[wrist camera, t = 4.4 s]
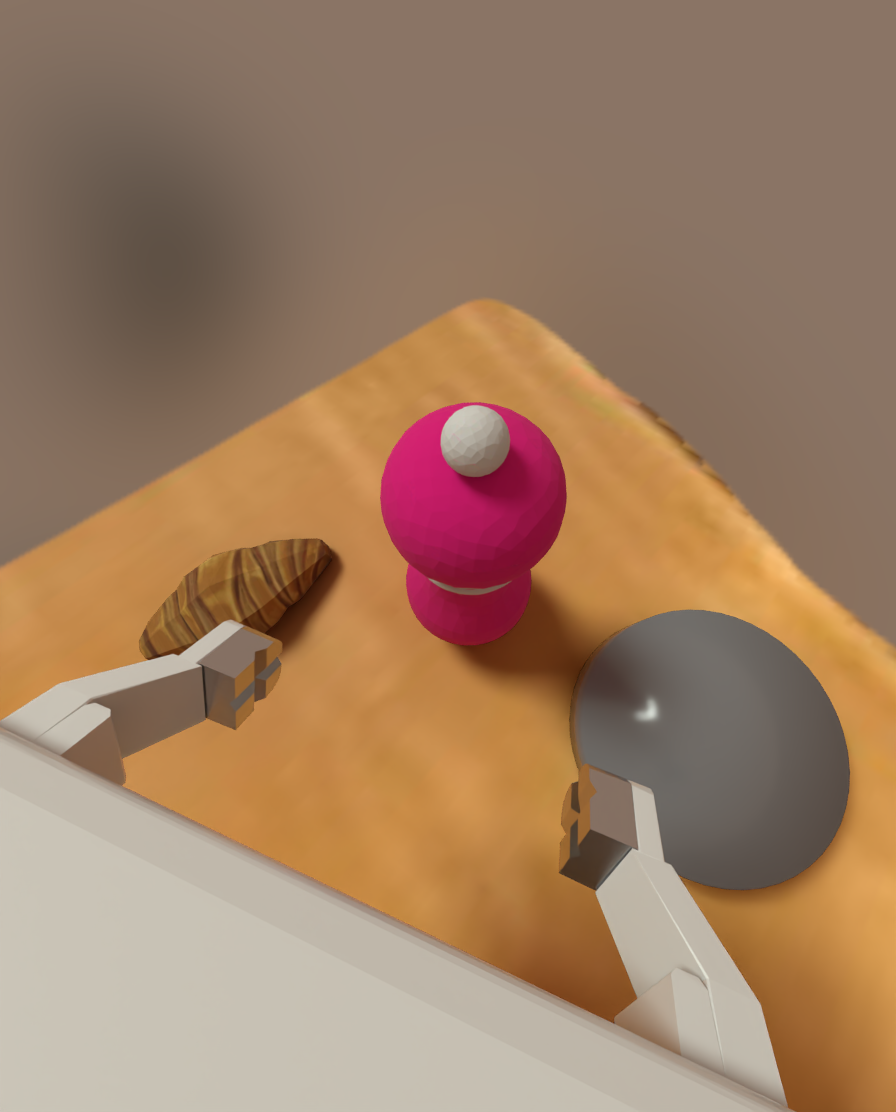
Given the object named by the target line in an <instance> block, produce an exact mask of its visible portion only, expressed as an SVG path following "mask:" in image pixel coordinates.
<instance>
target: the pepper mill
mask: <svg viewBox="0 0 896 1112" xmlns="http://www.w3.org/2000/svg"><path fill="white" fill-rule="evenodd" d="M566 497H567V494H566V480H565V473H564V470H563V467H562V463H561V460H560V457H559V455H558V454H557V452H556V450H555V448H554V447H553V445H552V443H551V441H550V440H549V438H548V437H547V436H546V435H545V434H544V433H543V432H542V431H541V430H540V428H538V427H537V426H536V425H535V424H533V423H532V422H531V421H529V420H528V419H527V418H525V417H523V416H522V415H520V414H518V413H516V412H514V411H512V410H511V409H507V408H504V407H501V406H498V405H494V404H487V403H480V402H479V403H460V404H456V405H452V406H447V407H444V408H441V409H439V410H436V411H434V412H432V413H429V414H428V415H426V416H425V417H423V418H422V419H420V420H418V421H417V422H416V423H415V424H413V425H412V426H411V427H410V428H409V429H408V430H407V431H406V432H405V433H404V434H403V436H402V437H401V438H400V440H399V441H398V443H397V444H396V445H395V447H394V448H393V450H392V452H391V454H390V456H389V458H388V460H387V463H386V466H385V470H384V473H383V477H382V481H381V495H380V499H381V510H382V515H383V519H384V523H385V526H386V528H387V530H388V533H389V535H390V538H391V540H392V542H393V544H394V545H395V547H396V548H397V549H398V551H399V552H400V554H401V555H402V556H403V557H404V559H405V560H406V561H407V562H408V563H409V565H408V570H407V575H406V587H407V593H408V598H409V602H410V605H411V608H412V610H413V612H414V614H415V615H416V617H417V619H418V620H419V621H420V622H421V624H422V625H423V626H424V627H425V628H426V629H427V630H428V631H430V632H431V633H432V634H433V635H435V636H437V637H438V638H440V639H442V640H445V641H447V642H450V643H454V644H459V645H480V644H484V643H488V642H491V641H493V640H496V639H498V638H499V637H501V636H503V635H504V634H506V633H507V632H508V631H509V630H511V629H512V628H513V627H514V626H515V624H516V623H517V622H518V621H519V619H520V618H521V616H522V615H523V613H524V611H525V609H526V606H527V603H528V600H529V596H530V591H531V571H530V569H531V568H532V567H534V566H535V565H536V564H537V563H538V562H539V561H540V560H541V559H542V558H543V557H544V556H545V554H546V553H547V552H548V550H549V549H550V548H551V546H552V545H553V543H554V541H555V540H556V538H557V536H558V533H559V530H560V527H561V524H562V520H563V517H564V513H565V507H566Z"/></svg>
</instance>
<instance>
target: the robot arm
mask: <svg viewBox="0 0 896 1112" xmlns="http://www.w3.org/2000/svg"><path fill="white" fill-rule="evenodd" d="M281 652H282V642H281V641H279V640H278V639H275V638H273V637H271V636H268V635H266V634H264V633H261V632H259V631H257V630H255V629H252V628H250V627H248V626H245V625H242V624H240V623H238V622H235V621H233V620H227V621H224V622H223V623H221V624H220V625H219V626H217V627H216V628H215V629H213V630H212V631H211V632H209V633H208V634H207V635H205V636H204V637H203V638H201V639H200V640H199V641H197V642H196V643H195V644H193V645H192V646H191V647H190V648H188V649H187V650H186V651H184V652H183V653H182V654H180V655H179V656H178V655H175V654H171V655H167V656H163V657H160V658H156V659H152V660H148V661H144V662H140V663H136V664H133V665H129V666H125V667H121V668H117V669H113V670H110V671H106V672H102V673H98V674H94V675H90V676H86V677H83V678H79V679H75V680H71V681H67V682H63V683H60V684H57V685H56V686H54V687H53V688H51V689H50V690H48V691H46V692H45V693H43V694H42V695H40V696H39V697H37V698H36V699H34V700H32V701H31V702H29V703H28V704H26V705H25V706H23V707H21V708H20V709H18V710H17V711H15V712H14V713H12V714H10V715H9V716H7V717H6V718H4V719H3V720H1V721H0V1112H796V1111H794V1110H792V1109H790V1108H788V1105H787V1101H786V1097H785V1094H784V1090H783V1086H782V1083H781V1079H780V1075H779V1071H778V1068H777V1064H776V1060H775V1056H774V1053H773V1049H772V1045H771V1041H770V1038H769V1034H768V1030H767V1027H766V1023H765V1019H764V1015H763V1012H762V1008H761V1004H760V1003H759V1001H758V999H757V998H756V996H755V995H754V993H753V992H752V990H751V988H750V987H749V985H748V984H747V982H746V981H745V979H744V978H743V976H742V974H741V973H740V971H739V970H738V968H737V967H736V965H735V963H734V962H733V960H732V959H731V957H730V956H729V954H728V953H727V951H726V949H725V948H724V946H723V945H722V943H721V942H720V940H719V938H718V937H717V935H716V934H715V932H714V931H713V929H712V928H711V926H710V924H709V923H708V921H707V920H706V918H705V917H704V915H703V913H702V912H701V910H700V909H699V907H698V906H697V904H696V903H695V901H694V899H693V898H692V896H691V895H690V893H689V892H688V890H687V888H686V887H685V885H684V884H683V882H682V881H681V879H680V878H679V876H678V874H677V873H676V871H675V870H674V868H673V867H672V865H670V864H668V863H666V862H665V861H664V855H663V849H662V843H661V836H660V830H659V824H658V818H657V812H656V806H655V800H654V794H653V792H652V790H651V789H650V788H648V787H645V786H643V785H640V784H638V783H635V782H632V781H630V780H627V779H626V778H623V777H620V776H618V775H615V774H613V773H610V772H608V771H605V770H602V769H600V768H597V767H595V766H592V765H590V764H587V763H586V764H585V765H583V766H582V768H581V769H580V771H579V781H578V782H575V783H572V784H571V786H570V787H569V789H568V791H567V793H566V796H565V800H564V803H563V808H562V817H561V825H562V827H563V829H564V831H565V833H566V835H565V836H564V838H563V839H562V841H561V842H560V859H559V873H560V874H562V875H564V876H566V877H568V878H570V879H573V880H575V881H577V882H579V883H581V884H583V885H585V886H587V887H589V888H591V889H594V890H596V892H595V893H596V896H597V898H598V901H599V903H600V906H601V908H602V911H603V913H604V916H605V918H606V921H607V923H608V926H609V928H610V931H611V933H612V936H613V938H614V941H615V943H616V946H617V948H618V951H619V953H620V956H621V958H622V961H623V963H624V966H625V968H626V971H627V973H628V976H629V978H630V981H631V983H632V986H633V988H634V991H635V993H636V996H637V999H636V1000H635V1001H634V1002H633V1003H631V1004H630V1005H629V1006H628V1007H626V1008H625V1009H624V1010H623V1011H621V1012H620V1013H619V1014H618V1015H616V1016H615V1017H614V1024H613V1023H611V1022H609V1021H607V1020H605V1019H603V1018H601V1017H599V1016H597V1015H595V1014H593V1013H591V1012H589V1011H587V1010H584V1009H582V1008H580V1007H578V1006H576V1005H574V1004H572V1003H570V1002H568V1001H566V1000H564V999H562V998H560V997H558V996H555V995H553V994H551V993H549V992H547V991H545V990H543V989H541V988H539V987H537V986H535V985H533V984H531V983H529V982H527V981H525V980H522V979H520V978H518V977H516V976H514V975H512V974H510V973H508V972H506V971H504V970H502V969H500V968H498V967H496V966H494V965H491V964H489V963H487V962H485V961H483V960H481V959H479V958H477V957H475V956H473V955H471V954H469V953H467V952H465V951H463V950H460V949H458V948H456V947H454V946H452V945H450V944H448V943H446V942H444V941H442V940H440V939H438V938H436V937H434V936H432V935H429V934H427V933H425V932H423V931H421V930H419V929H417V928H415V927H413V926H411V925H409V924H407V923H405V922H403V921H401V920H399V919H396V918H394V917H392V916H390V915H388V914H386V913H384V912H382V911H380V910H378V909H376V908H374V907H372V906H370V905H368V904H365V903H363V902H361V901H359V900H357V899H355V898H353V897H351V896H349V895H347V894H345V893H343V892H341V891H339V890H336V889H334V888H332V887H330V886H328V885H326V884H324V883H322V882H320V881H318V880H316V879H314V878H312V877H310V876H308V875H305V874H303V873H301V872H299V871H297V870H295V869H293V868H291V867H289V866H287V865H285V864H283V863H281V862H279V861H277V860H274V859H272V858H270V857H268V856H266V855H264V854H262V853H260V852H258V851H256V850H254V849H252V848H250V847H248V846H245V845H243V844H241V843H239V842H237V841H235V840H233V839H231V838H229V837H227V836H225V835H223V834H221V833H219V832H216V831H214V830H212V829H210V828H208V827H206V826H204V825H202V824H200V823H198V822H196V821H194V820H192V819H190V818H187V817H185V816H183V815H181V814H179V813H177V812H175V811H173V810H171V809H169V808H167V807H165V806H163V805H161V804H158V803H156V802H154V801H152V800H150V799H148V798H146V797H144V796H142V795H140V794H138V793H136V792H134V791H132V790H130V789H127V788H125V787H123V786H122V785H123V784H124V783H125V781H126V773H125V769H124V765H123V761H122V759H123V758H125V757H127V756H129V755H131V754H134V753H136V752H138V751H140V750H142V749H144V748H146V747H149V746H151V745H153V744H155V743H157V742H159V741H161V740H164V739H166V738H168V737H170V736H172V735H174V734H176V733H179V732H181V731H183V730H185V729H187V728H189V727H192V726H194V725H196V724H198V723H200V722H202V721H204V720H206V718H207V719H210V720H212V721H215V722H217V723H220V724H222V725H225V726H227V727H229V728H232V729H234V730H236V729H237V728H238V727H239V726H240V725H241V724H242V723H243V722H244V721H245V720H246V719H247V717H248V716H249V715H250V714H251V713H252V712H253V711H254V702H255V701H258V700H261V699H264V698H266V697H267V695H268V694H269V693H270V692H271V691H272V690H273V688H274V686H275V685H276V683H277V681H278V679H279V676H280V673H281V662H280V661H279V659H278V657H277V656H278V655H279V654H280V653H281Z"/></svg>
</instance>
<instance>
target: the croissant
mask: <svg viewBox="0 0 896 1112" xmlns="http://www.w3.org/2000/svg"><path fill="white" fill-rule="evenodd" d="M331 560H332V557H331V553H330V549H329V546H327V545H326V544H325V543H324V542H323V541H322V540H320V539H290V540H280V541H270V542H268V543H266V544H263V545H260V546H256V547H253V548H239V549H235V550H232V551H228V552H224V553H220V554H216V555H213V556H212V557H210V558H209V559H208V560H206V561H205V562H203V563H202V564H201V565H199V566H198V567H197V568H195V569H194V570H193V571H191V572H190V573H189V574H187V575H186V576H184V578H183V580H182V581H181V583H180V585H179V587H178V588H177V590H176V591H175V592H174V593H173V594H171V595H170V596H169V597H168V598H167V599H166V601H165V602H164V603H163V604H162V606H161V607H160V608H159V609H158V611H157V612H156V613H155V614H154V616H153V617H152V618H151V619H150V621H149V622H148V624H147V626H146V628H145V630H144V632H143V634H142V636H141V638H140V640H139V648H140V652H141V653H142V654H143V656H144V657H145V658H146V659H148V660H152V659H156V658H160V657H163V656H167V655H171V654H175V655H178V656H179V655H180V654H182V653H183V652H184V651H186V650H187V649H188V648H190V647H191V646H192V645H193V644H195V643H196V642H197V641H199V640H200V639H201V638H203V637H204V636H205V635H207V634H208V633H209V632H211V631H212V630H213V629H215V628H216V627H217V626H219V625H220V624H221V623H223V622H224V621H227V620H233V621H235V622H238V623H240V624H242V625H245V626H248V627H250V628H252V629H255V630H257V631H259V632H261V633H265V632H267V631H268V630H269V629H270V628H271V627H272V626H274V625H275V624H276V623H277V622H278V621H279V620H280V618H281V617H282V615H283V614H284V612H285V611H286V609H287V608H288V607H289V606H291V605H292V604H294V603H296V602H297V601H299V600H300V599H301V598H302V597H303V595H304V594H305V593H306V592H307V591H308V589H309V588H310V587H311V586H312V584H313V583H314V582H315V581H316V579H317V578H318V577H319V576H320V574H321V573H322V572H323V570H324V569H325V568H326V567H327V565H328V564H329V563H330V561H331Z"/></svg>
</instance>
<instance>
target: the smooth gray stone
mask: <svg viewBox="0 0 896 1112" xmlns="http://www.w3.org/2000/svg"><path fill="white" fill-rule="evenodd" d="M569 722H570V738H571V744H572V750H573V754H574V757H575V761H576V764H577V768H578V770H579V771H580V769H581V768H582V766H583V765H585V764H586V763H587V764H590V765H592V766H595V767H597V768H600V769H602V770H605V771H608V772H610V773H613V774H615V775H618V776H620V777H623V778H626V779H627V780H630V781H632V782H635V783H638V784H640V785H643V786H645V787H648V788H650V789H651V790H652V792H653V794H654V800H655V806H656V812H657V818H658V824H659V830H660V836H661V843H662V849H663V855H664V861H665V862H666V863H668V864H670V865H672V867H673V868H674V870H675V871H676V873H677V874H678V875H680V876H682V877H684V878H686V879H689V880H692V881H695V882H697V883H700V884H703V885H707V886H712V887H717V888H721V889H733V890H749V889H760V888H764V887H768V886H772V885H776V884H779V883H781V882H784V881H786V880H788V879H790V878H793V877H795V876H796V875H798V874H799V873H801V872H802V871H804V870H805V869H807V868H808V867H809V866H811V865H812V864H813V863H814V862H815V861H816V860H817V859H818V858H819V857H820V856H821V855H822V854H823V852H824V851H825V850H826V848H827V847H828V846H829V844H830V843H831V842H832V840H833V838H834V836H835V834H836V832H837V830H838V828H839V827H840V824H841V821H842V818H843V815H844V812H845V809H846V805H847V799H848V793H849V779H850V769H849V758H848V750H847V746H846V741H845V737H844V733H843V730H842V727H841V724H840V721H839V718H838V716H837V714H836V711H835V709H834V707H833V705H832V703H831V701H830V699H829V697H828V696H827V694H826V692H825V691H824V689H823V687H822V686H821V684H820V683H819V681H818V680H817V679H816V677H815V676H814V675H813V673H812V672H811V671H810V670H809V668H808V667H807V666H806V665H805V664H804V663H803V662H802V661H801V660H800V659H799V658H798V657H797V655H796V654H794V653H793V652H792V651H791V650H790V649H789V648H787V647H786V646H785V645H784V644H783V643H782V642H780V641H779V640H777V639H776V638H774V637H773V636H771V635H770V634H769V633H767V632H765V631H764V630H762V629H760V628H758V627H756V626H754V625H753V624H750V623H748V622H746V621H743V620H741V619H738V618H736V617H732V616H729V615H725V614H722V613H717V612H711V611H704V610H680V611H671V612H667V613H663V614H658V615H655V616H653V617H650V618H648V619H645V620H643V621H640V622H638V623H635V624H632V625H630V626H627V627H625V628H623V629H621V630H620V631H618V632H616V633H614V634H613V635H611V636H610V637H609V638H608V639H606V640H605V641H604V642H603V643H602V644H601V645H600V646H599V647H598V648H597V649H596V650H595V651H594V652H593V653H592V655H591V656H590V657H589V659H588V660H587V661H586V663H585V665H584V666H583V668H582V670H581V672H580V674H579V676H578V679H577V682H576V684H575V687H574V691H573V695H572V700H571V706H570V718H569Z"/></svg>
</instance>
